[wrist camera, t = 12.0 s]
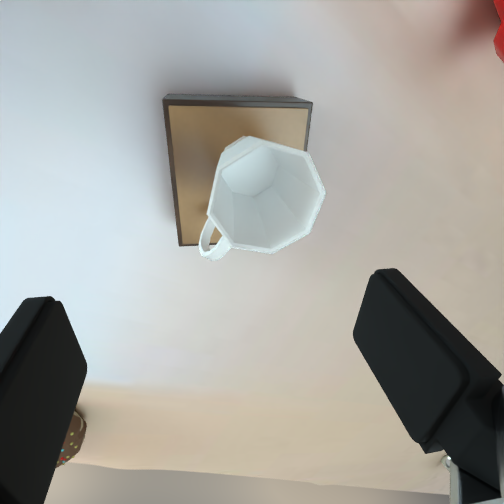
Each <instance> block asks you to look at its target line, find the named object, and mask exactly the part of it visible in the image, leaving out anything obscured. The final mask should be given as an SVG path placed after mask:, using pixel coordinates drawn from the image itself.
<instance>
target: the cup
mask: <svg viewBox="0 0 504 504" xmlns="http://www.w3.org/2000/svg"><path fill="white" fill-rule="evenodd" d="M325 195H326V191H325V189H324V186H323V184H322V182H321V179H320V177H319V175H318V173H317V170H316V168H315V166H314V163H313V161H312V159H311V156H310V154H309V153H308V152H305V151H302V150H298V149H295V148H291V147H288V146H285V145H282V144H278V143H275V142H271V141H267V140H263V139H260V138H256V137H252V136H248V137H247V136H242V137H241V138H239V139H238V140H236V141H235V142H233V143H231V144H230V145H228V146H227V147H225V149H224V152H222V153H221V156H220V160H219V162H218V165H217V169H216V173H215V178H214V182H213V187H212V191H211V196H210V201H209V205H208V210H207V215H208V219H207V221H206V223H205V225H204V228H203V230H202V233H201V235H200V240H199V251H200V253H201V255H202V256H203V257H205V258H207V259H209V260H211V261H216V260H219V259H220V258H221V257H223V256H224V255H225V254H226V253H227V251H228V250H229V249H230V248H236V249H243V250H249V251H255V252H262V253H268V254H273V253H275V252H277V251H279V250H281V249H282V248H284V247H286V246H288V245H290V244H291V243H293V242H295V241H297V240H299V239H300V238H302V237H304V236H306V235H308V234H309V233H310V231H311V229H312V227H313V224H314V222H315V219H316V217H317V215H318V212H319V210H320V207H321V205H322V203H323V200H324V198H325ZM215 226H216V228H217V229H218V230H219V232H220V233H221V234H222V237H221V238H220V240H219V241H218V243H217V244H216V246H215V247H214V248H213V249H212V250H211V251H210V249H209V243H210V238H211V235H212V233H213V231H214V228H215Z"/></svg>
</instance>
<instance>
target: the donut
mask: <svg viewBox="0 0 504 504" xmlns="http://www.w3.org/2000/svg"><path fill="white" fill-rule="evenodd" d="M86 427H87V425H86V422H85V421H84V420H83V419H81V417H80V416H79V415H78V414H77V413H76V412H75V411H74V414H73V417H72V420H71V423H70V426H69V429H68V432H67V435H66V438H65V441H64V444H63V447H62V450H61V453H60V456H59V459H58V462H57V465H56V468H57V467H59V466H60V465H64V464H65V462H67V461H69V460H70V459H71V458H74V455H76V454H77V453H78V451H79V450H80V448H81V445H82V443H83V440H84V438H85V432H86Z"/></svg>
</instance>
